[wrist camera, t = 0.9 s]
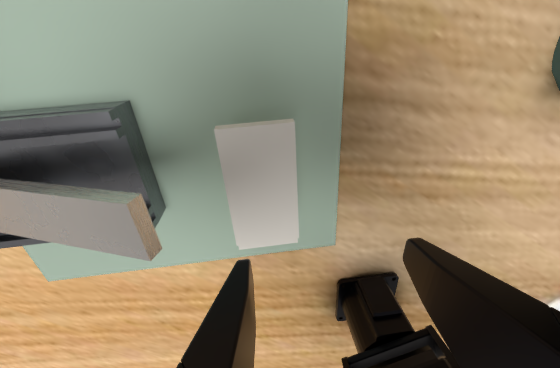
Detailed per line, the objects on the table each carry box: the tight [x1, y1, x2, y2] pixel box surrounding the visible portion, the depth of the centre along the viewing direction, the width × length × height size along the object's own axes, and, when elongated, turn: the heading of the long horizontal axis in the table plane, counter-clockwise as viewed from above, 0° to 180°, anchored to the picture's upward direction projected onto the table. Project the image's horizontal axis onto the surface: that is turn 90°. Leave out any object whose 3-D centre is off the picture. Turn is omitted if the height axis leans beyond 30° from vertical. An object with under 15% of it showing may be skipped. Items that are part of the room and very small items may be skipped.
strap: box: [0, 178, 162, 261], centre depth 13 cm, size 4×15×1 cm, turn 94°
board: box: [0, 0, 348, 281], centre depth 18 cm, size 20×25×1 cm
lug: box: [214, 118, 299, 250], centre depth 17 cm, size 8×4×4 cm, turn 4°
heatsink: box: [0, 100, 166, 248], centre depth 16 cm, size 8×11×4 cm
